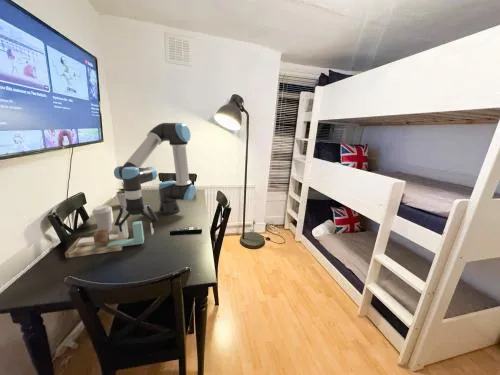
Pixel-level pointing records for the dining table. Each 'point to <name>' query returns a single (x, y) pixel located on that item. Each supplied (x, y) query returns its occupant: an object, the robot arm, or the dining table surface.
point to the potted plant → (122, 197)
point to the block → (101, 238)
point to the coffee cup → (103, 217)
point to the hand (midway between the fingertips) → (138, 235)
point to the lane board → (89, 248)
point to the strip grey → (111, 237)
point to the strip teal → (137, 239)
